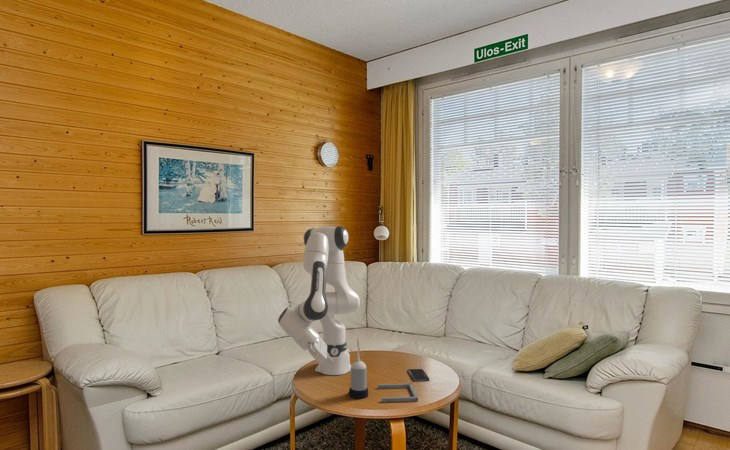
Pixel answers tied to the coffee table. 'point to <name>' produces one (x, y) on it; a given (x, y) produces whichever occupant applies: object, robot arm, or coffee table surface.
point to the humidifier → (358, 378)
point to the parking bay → (398, 399)
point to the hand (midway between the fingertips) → (332, 362)
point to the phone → (418, 375)
